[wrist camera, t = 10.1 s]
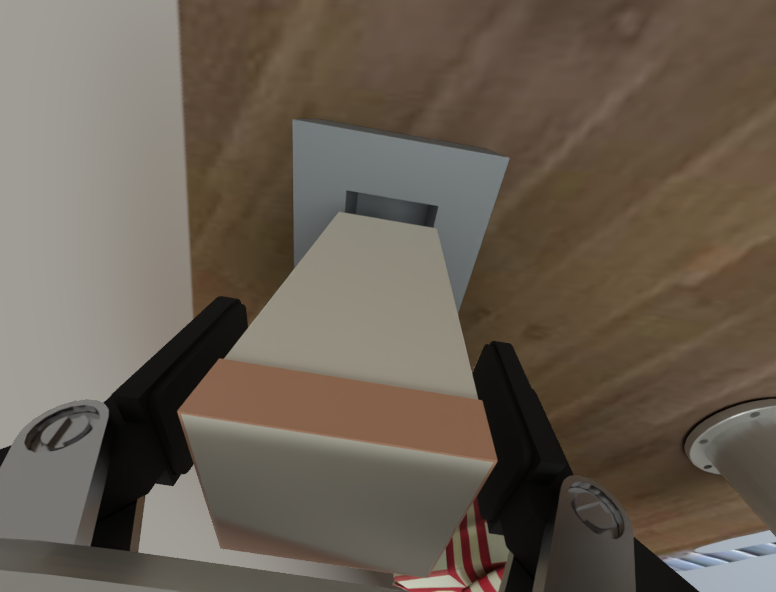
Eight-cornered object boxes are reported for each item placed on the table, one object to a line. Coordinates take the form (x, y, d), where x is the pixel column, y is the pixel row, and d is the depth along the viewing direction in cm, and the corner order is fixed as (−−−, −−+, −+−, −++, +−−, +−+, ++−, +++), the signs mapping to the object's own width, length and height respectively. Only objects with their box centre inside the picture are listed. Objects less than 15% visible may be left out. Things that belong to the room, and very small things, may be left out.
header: (414, 394, 35) (416, 517, 24) (312, 377, 35) (267, 495, 24) (486, 148, 22) (561, 177, 11) (321, 119, 21) (228, 119, 11)
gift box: (376, 437, 40) (355, 627, 25) (503, 379, 33) (579, 592, 18) (448, 495, 46) (466, 676, 31) (568, 456, 39) (664, 662, 24)
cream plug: (417, 310, 18) (427, 578, 7) (332, 296, 18) (220, 548, 7) (438, 227, 15) (497, 461, 5) (338, 210, 15) (176, 411, 5)
